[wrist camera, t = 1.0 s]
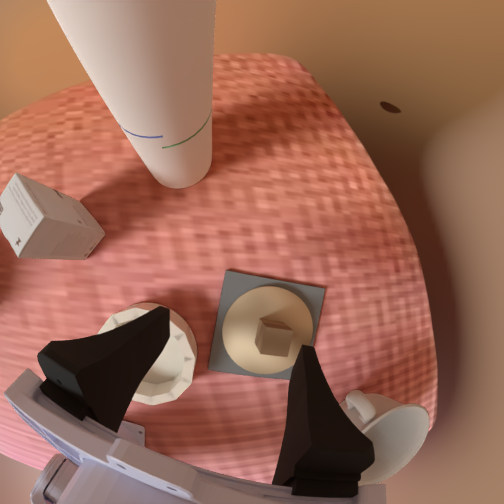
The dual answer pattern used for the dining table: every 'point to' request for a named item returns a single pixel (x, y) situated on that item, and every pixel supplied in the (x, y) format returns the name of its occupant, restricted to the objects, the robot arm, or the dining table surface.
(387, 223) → the dining table surface
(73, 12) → the cylindrical container
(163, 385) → the bowl
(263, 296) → the lid
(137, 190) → the dining table surface
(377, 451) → the teacup
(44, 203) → the skincare box
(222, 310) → the mat
